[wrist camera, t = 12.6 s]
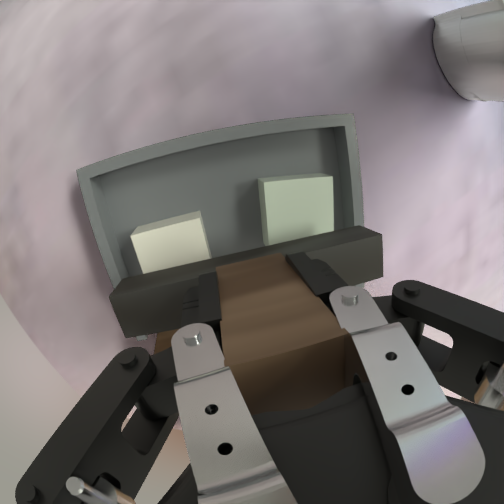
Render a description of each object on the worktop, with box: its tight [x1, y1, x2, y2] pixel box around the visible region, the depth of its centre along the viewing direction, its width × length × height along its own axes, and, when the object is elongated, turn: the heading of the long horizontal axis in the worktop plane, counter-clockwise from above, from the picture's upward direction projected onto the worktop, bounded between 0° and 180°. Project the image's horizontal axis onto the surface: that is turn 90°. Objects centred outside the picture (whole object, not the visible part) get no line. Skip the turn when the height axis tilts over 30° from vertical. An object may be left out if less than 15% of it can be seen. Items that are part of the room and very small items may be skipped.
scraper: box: [109, 225, 383, 415], centre depth 11 cm, size 3×14×10 cm, turn 100°
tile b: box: [258, 173, 334, 246], centre depth 18 cm, size 4×4×2 cm
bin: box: [76, 114, 364, 341], centre depth 19 cm, size 13×18×2 cm
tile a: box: [131, 211, 212, 274], centre depth 18 cm, size 4×4×2 cm
